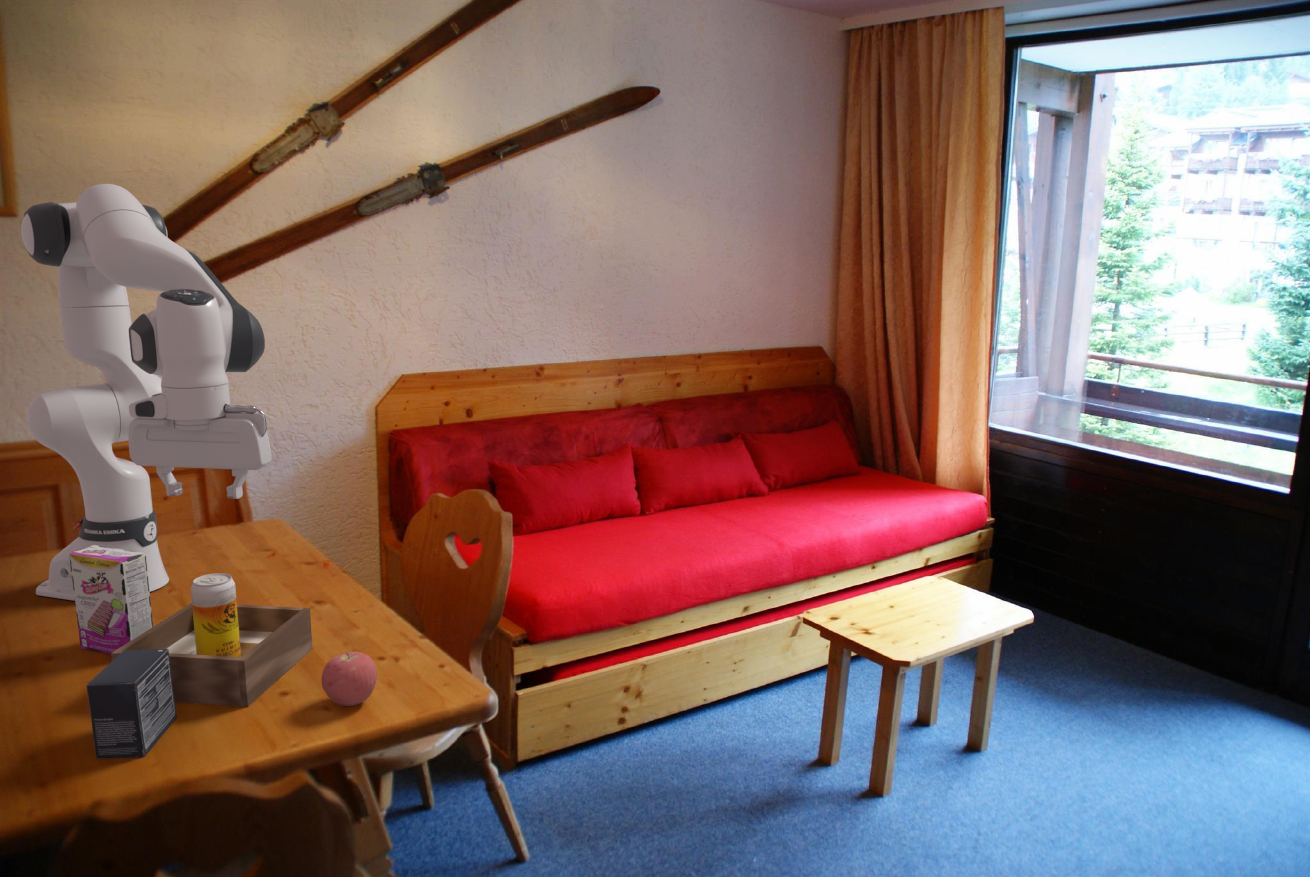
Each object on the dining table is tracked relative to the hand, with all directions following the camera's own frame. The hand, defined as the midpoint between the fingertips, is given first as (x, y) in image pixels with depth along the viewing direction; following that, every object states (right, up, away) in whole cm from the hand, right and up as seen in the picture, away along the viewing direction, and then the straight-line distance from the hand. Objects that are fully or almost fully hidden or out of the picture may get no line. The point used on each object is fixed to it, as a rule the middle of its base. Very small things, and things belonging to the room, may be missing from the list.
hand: (204, 496), depth 141 cm
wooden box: (0, -27, +6) cm, 28 cm away
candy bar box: (-20, -26, +14) cm, 36 cm away
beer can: (0, -28, +6) cm, 28 cm away
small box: (-2, -32, -14) cm, 34 cm away
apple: (+23, -30, -4) cm, 38 cm away
